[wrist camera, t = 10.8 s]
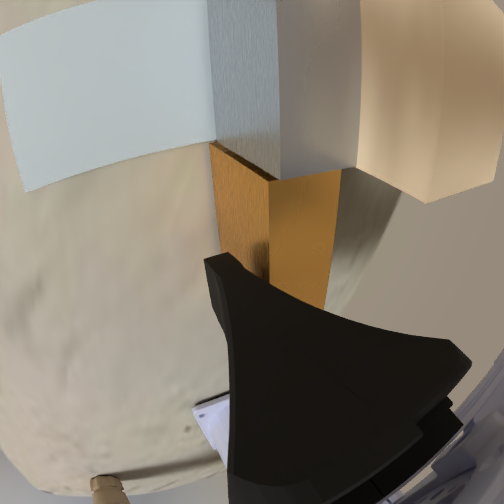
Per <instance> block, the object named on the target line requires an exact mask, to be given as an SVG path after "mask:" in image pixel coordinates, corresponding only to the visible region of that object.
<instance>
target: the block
mask: <svg viewBox="0 0 504 504" xmlns="http://www.w3.org/2000/svg"><path fill="white" fill-rule="evenodd" d="M360 10H361V37H362V80H361V109H360V127H359V141H358V154H357V165H356V168H358V169H360V170H362V171H364V172H366V173H368V174H370V175H372V176H374V177H376V178H378V179H380V180H382V181H384V182H386V183H388V184H390V185H392V186H394V187H396V188H398V189H399V190H401V191H403V192H405V193H407V194H409V195H411V196H412V197H414V198H416V199H418V200H420V201H422V202H423V203H425V204H428V203H431V202H434V201H437V200H440V199H443V198H446V197H449V196H452V195H455V194H458V193H460V192H463V191H466V190H469V189H472V188H475V187H478V186H480V185H484V184H486V183H490V182H492V181H493V180H494V176H495V172H496V167H497V163H498V158H499V152H500V147H501V142H502V136H503V130H504V13H503V12H502V11H501V10H500V9H499V7H497V5H496V4H495V3H494V2H493V1H492V0H360Z"/></svg>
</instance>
